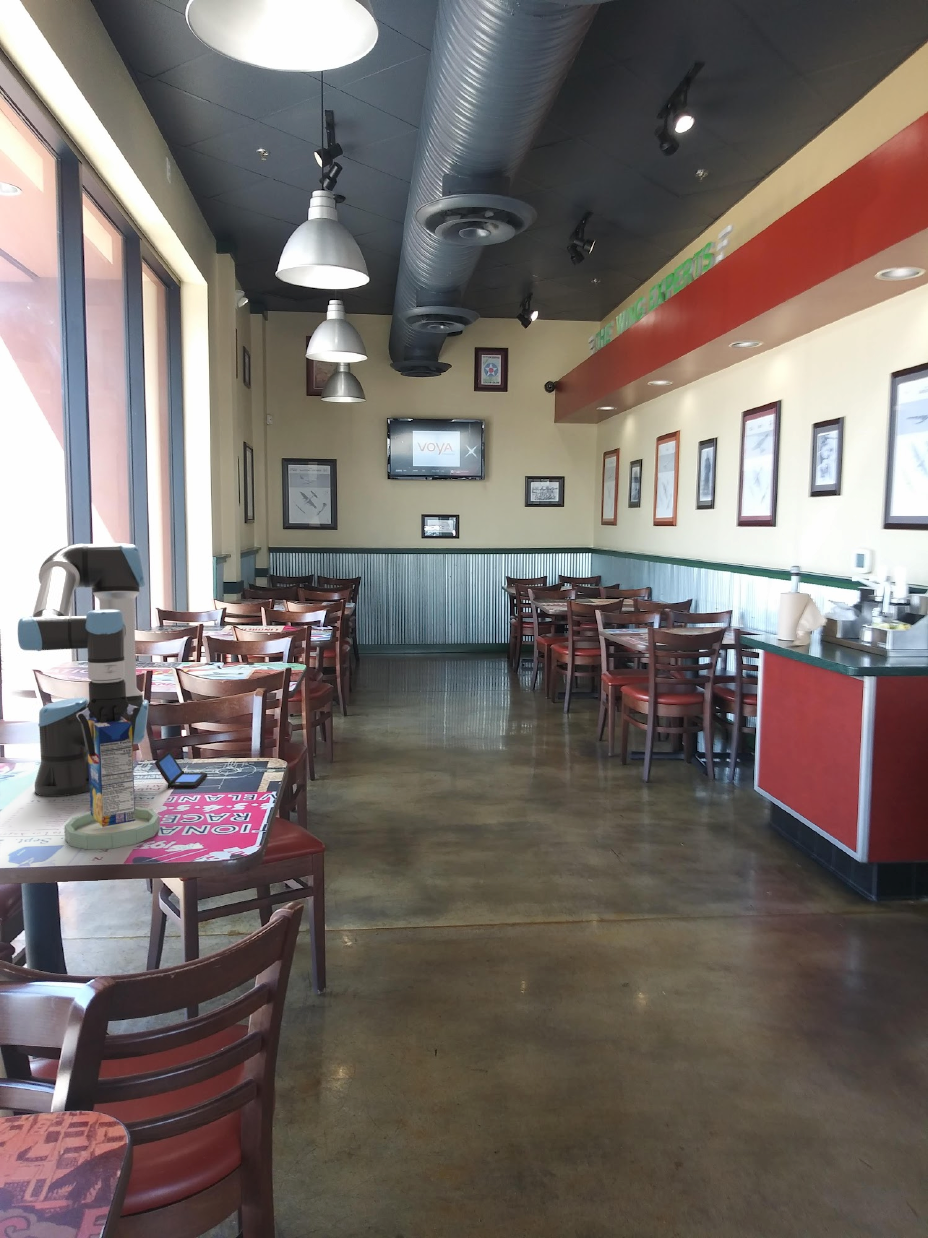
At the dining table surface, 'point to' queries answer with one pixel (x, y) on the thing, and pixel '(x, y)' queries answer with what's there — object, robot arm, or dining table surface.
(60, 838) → the dining table surface
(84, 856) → the dining table surface
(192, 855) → the dining table surface
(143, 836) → the round tray
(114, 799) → the beverage box
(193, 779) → the handheld game console
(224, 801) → the dining table surface
